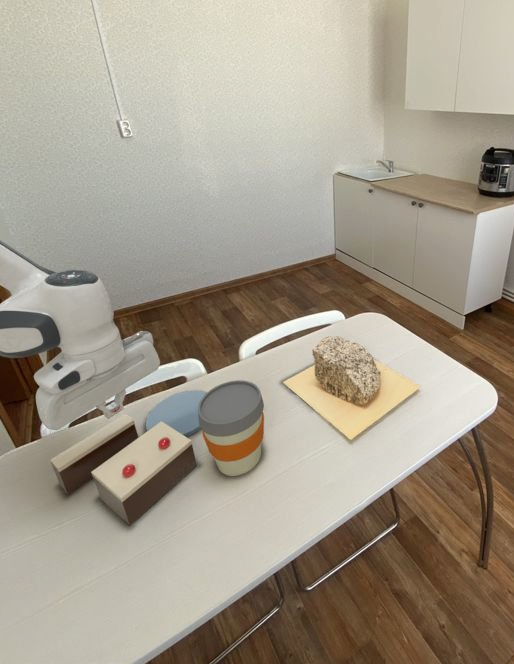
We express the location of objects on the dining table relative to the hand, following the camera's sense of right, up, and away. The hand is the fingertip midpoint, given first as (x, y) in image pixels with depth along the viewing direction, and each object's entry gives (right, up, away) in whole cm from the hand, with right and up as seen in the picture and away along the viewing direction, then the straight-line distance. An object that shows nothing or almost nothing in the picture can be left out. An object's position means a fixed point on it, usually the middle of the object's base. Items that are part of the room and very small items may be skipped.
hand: (114, 412), depth 75 cm
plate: (+5, -8, +17) cm, 20 cm away
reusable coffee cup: (+23, -12, +6) cm, 26 cm away
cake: (+7, -14, +1) cm, 16 cm away
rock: (+46, -4, +26) cm, 53 cm away
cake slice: (-6, -13, +5) cm, 15 cm away
